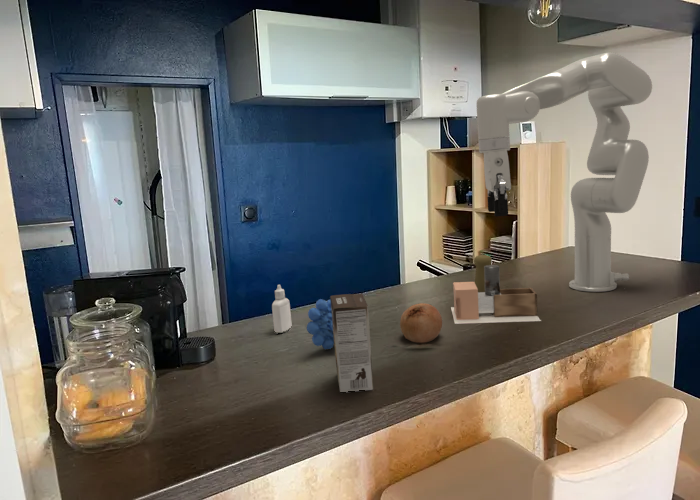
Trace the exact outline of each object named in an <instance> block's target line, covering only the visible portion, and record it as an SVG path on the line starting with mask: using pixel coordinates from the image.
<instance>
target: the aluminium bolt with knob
mask: <svg viewBox="0 0 700 500" xmlns="http://www.w3.org/2000/svg"><path fill="white" fill-rule="evenodd" d="M484 276H485V292H478V309H479V313H495V310H494V295H501V293H500V289H501V283H500V281H501V280H500V279H501V278H500V266H499V265H497V264H491V265H487V266H484Z"/></svg>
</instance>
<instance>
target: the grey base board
mask: <svg viewBox="0 0 700 500" xmlns="http://www.w3.org/2000/svg"><path fill="white" fill-rule="evenodd" d="M450 309H451V313H452V317H453V322H454V324H456V325H457V324H459V325H460V324H487V323H488V324H489V323H490V324H491V323H493V324H494V323H521V322H542V319H540V317H539V316H538V315H537V316H516V317H495V316H494V314H493V313H479V319H465V320H457V319H456V315H455V311H454V306H451V307H450Z"/></svg>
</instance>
